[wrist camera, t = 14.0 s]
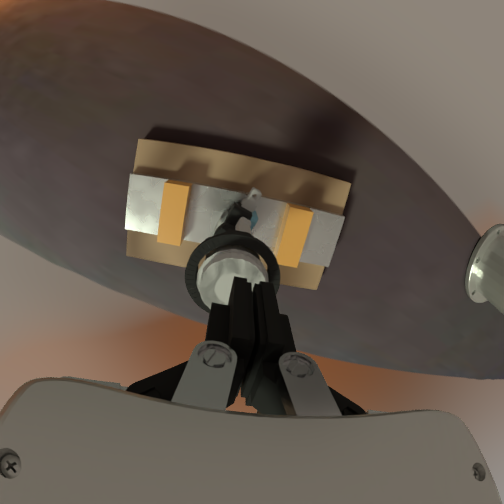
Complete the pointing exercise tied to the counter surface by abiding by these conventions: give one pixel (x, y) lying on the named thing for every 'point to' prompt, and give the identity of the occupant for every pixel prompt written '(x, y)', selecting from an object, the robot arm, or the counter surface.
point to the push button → (230, 257)
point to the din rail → (218, 204)
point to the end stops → (176, 213)
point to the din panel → (237, 178)
